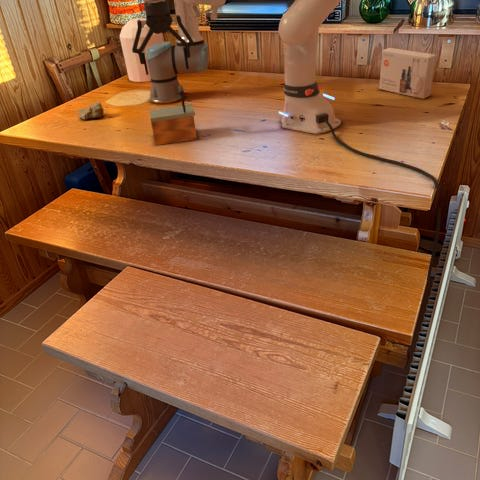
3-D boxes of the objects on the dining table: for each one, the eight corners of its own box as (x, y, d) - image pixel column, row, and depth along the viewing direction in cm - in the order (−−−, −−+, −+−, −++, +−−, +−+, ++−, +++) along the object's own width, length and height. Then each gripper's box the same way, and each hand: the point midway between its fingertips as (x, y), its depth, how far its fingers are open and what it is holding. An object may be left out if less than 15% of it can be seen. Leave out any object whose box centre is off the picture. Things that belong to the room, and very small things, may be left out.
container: (160, 81, 233) (149, 21, 217) (121, 82, 238) (108, 23, 222) (174, 69, 249) (165, 13, 233) (138, 70, 254) (126, 15, 238)
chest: (194, 129, 174) (190, 107, 170) (196, 139, 167) (193, 115, 162) (154, 135, 173) (150, 113, 168) (155, 145, 165) (151, 122, 160)
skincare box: (377, 89, 194) (381, 50, 185) (385, 86, 197) (389, 47, 188) (423, 99, 180) (429, 56, 171) (430, 95, 183) (437, 53, 174)
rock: (80, 117, 200) (78, 121, 191) (76, 102, 197) (75, 105, 188) (105, 114, 202) (105, 117, 193) (102, 99, 199) (101, 102, 190)
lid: (192, 107, 170) (188, 82, 165) (195, 115, 162) (191, 90, 157) (150, 113, 168) (145, 88, 163) (151, 122, 160) (146, 96, 155)
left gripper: (115, 7, 139) (130, 79, 151) (196, -3, 142) (205, 68, 154) (115, 4, 145) (130, 73, 157) (193, -6, 148) (202, 63, 160)
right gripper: (228, -28, 148) (231, 19, 156) (190, -29, 161) (195, 14, 169) (212, -26, 145) (217, 22, 153) (176, -27, 158) (181, 17, 166)
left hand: (167, 71), depth 156 cm, fingers open, 13 cm apart
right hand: (205, 18), depth 161 cm, fingers open, 8 cm apart
